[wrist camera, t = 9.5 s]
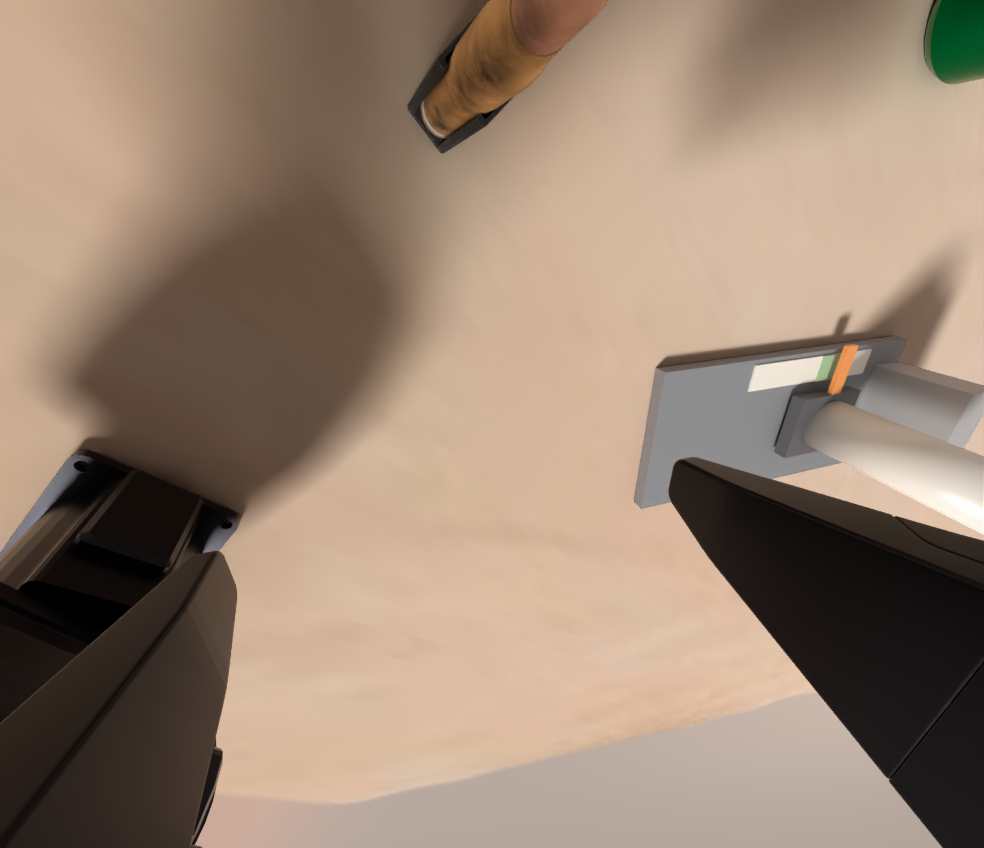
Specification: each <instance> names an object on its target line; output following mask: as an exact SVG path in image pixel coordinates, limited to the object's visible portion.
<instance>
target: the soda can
mask: <svg viewBox="0 0 984 848" xmlns="http://www.w3.org/2000/svg"><path fill="white" fill-rule="evenodd" d="M924 53H925V59H926V63H927V66H928V68H929V69H930V71H931V72H932V73H933V74H934V75H935V76H936V77H937V78H938V79H940V80H941V81H942V82H944V83H947V84H959V83H964V82H968V81H973V80H978V79H983V78H984V0H936V1H935V4H934V6H933V8H932V11H931V14H930V17H929V20H928V24H927V28H926V34H925V43H924Z"/></svg>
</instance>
